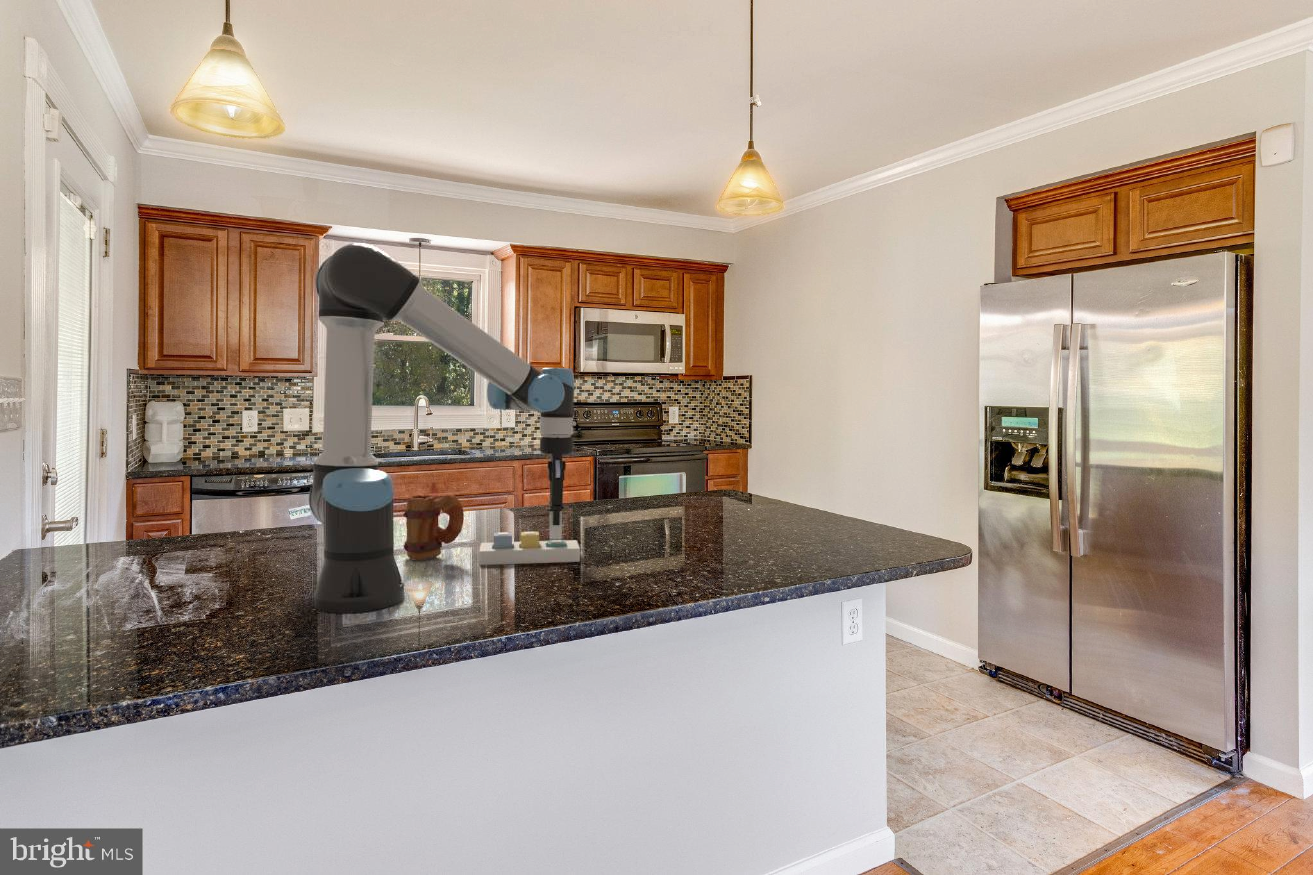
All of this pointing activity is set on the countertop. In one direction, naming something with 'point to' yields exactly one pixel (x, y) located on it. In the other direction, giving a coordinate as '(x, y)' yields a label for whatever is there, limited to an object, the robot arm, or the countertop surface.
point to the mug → (431, 524)
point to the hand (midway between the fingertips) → (555, 538)
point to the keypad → (529, 554)
